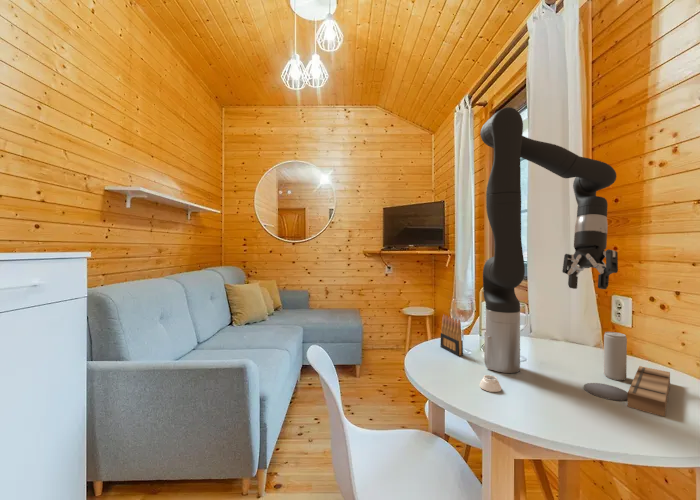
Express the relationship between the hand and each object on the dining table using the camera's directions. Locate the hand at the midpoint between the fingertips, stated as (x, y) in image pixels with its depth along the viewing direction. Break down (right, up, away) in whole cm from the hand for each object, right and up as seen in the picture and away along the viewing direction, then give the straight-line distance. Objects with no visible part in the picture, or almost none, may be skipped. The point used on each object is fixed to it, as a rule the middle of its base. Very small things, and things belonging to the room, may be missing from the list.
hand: (586, 288), depth 90 cm
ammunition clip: (-32, -24, +21) cm, 45 cm away
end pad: (-3, -24, -11) cm, 27 cm away
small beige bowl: (-31, -25, -9) cm, 40 cm away
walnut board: (+7, -24, -12) cm, 28 cm away
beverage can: (+6, -24, -2) cm, 25 cm away
